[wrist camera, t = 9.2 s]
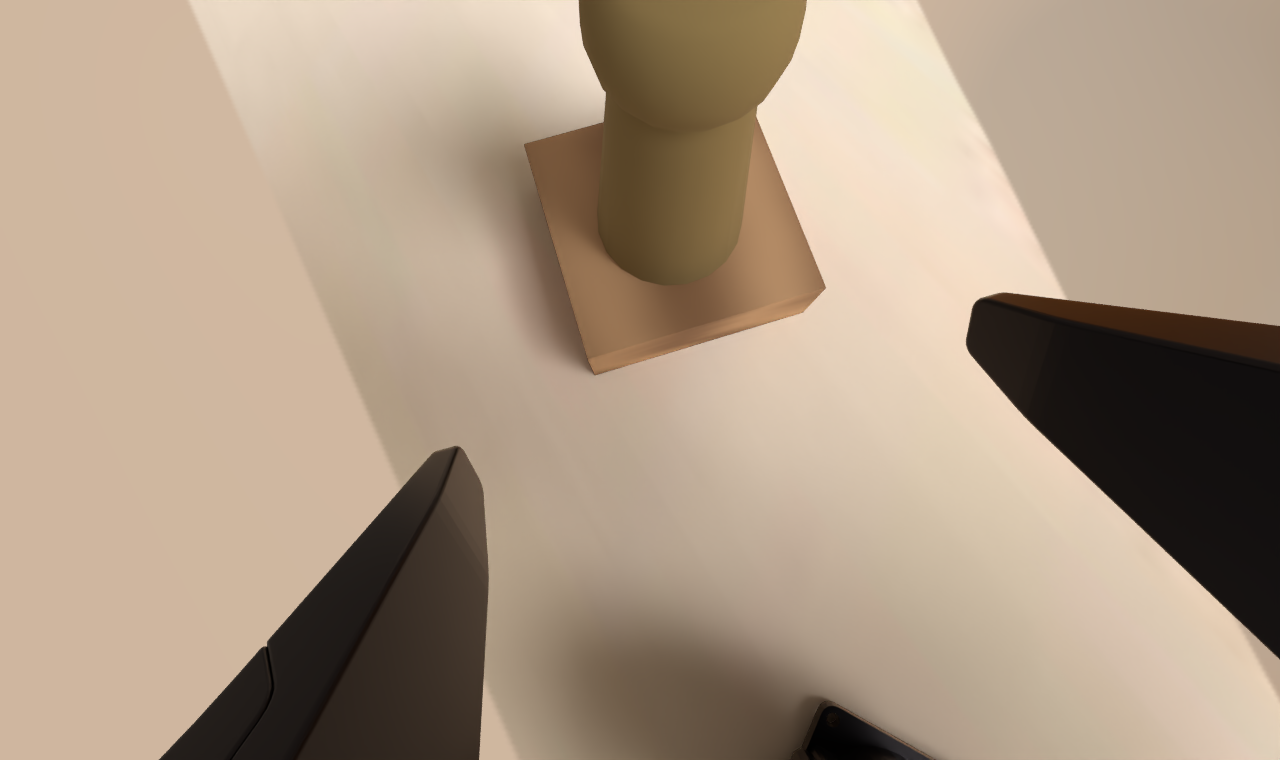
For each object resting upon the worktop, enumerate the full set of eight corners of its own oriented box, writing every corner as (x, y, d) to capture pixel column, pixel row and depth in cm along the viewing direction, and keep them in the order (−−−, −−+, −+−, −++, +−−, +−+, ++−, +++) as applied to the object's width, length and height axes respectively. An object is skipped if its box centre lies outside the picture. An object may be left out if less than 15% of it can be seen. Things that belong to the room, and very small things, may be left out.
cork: (710, 307, 20) (790, 103, 9) (573, 253, 20) (495, -2, 10) (762, 182, 21) (890, -133, 10) (631, 133, 21) (620, -217, 11)
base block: (731, 131, 25) (742, 84, 22) (802, 312, 23) (826, 287, 20) (538, 184, 24) (523, 144, 21) (595, 375, 22) (587, 359, 19)
